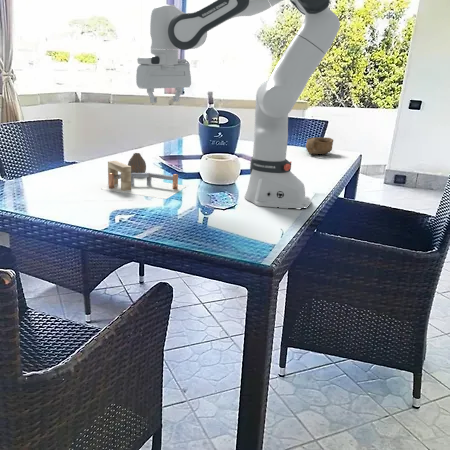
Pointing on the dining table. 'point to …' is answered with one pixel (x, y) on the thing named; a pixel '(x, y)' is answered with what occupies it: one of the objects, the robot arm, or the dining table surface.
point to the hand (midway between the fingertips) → (165, 102)
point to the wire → (148, 175)
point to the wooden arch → (125, 174)
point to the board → (149, 188)
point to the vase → (137, 164)
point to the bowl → (319, 145)
